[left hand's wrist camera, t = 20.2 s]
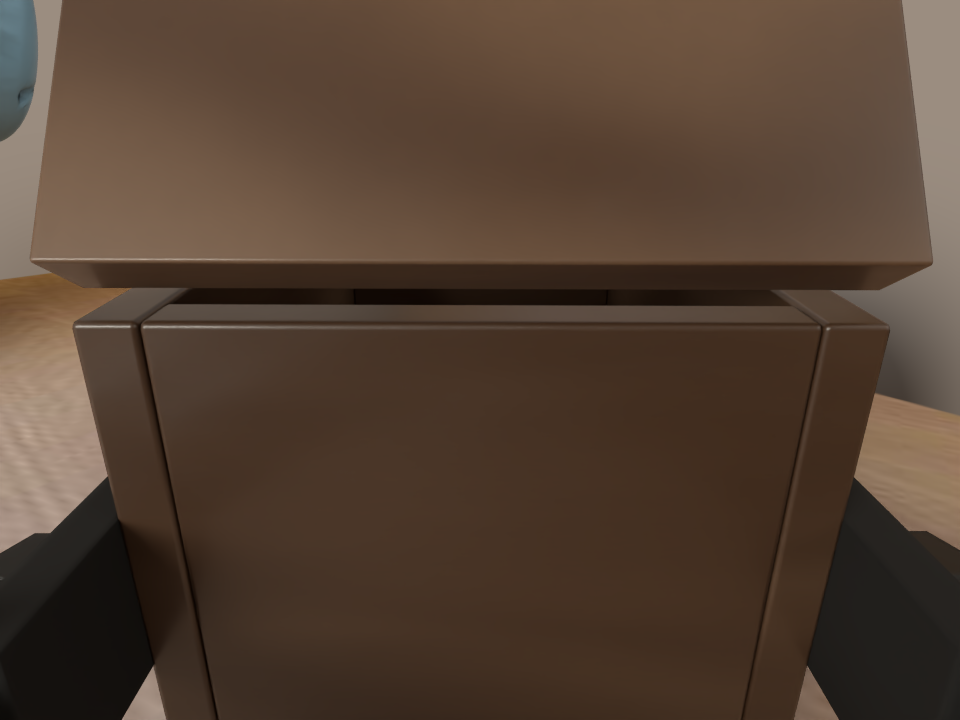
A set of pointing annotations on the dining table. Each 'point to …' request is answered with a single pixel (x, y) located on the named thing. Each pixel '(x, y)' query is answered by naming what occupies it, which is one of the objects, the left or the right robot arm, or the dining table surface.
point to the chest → (480, 495)
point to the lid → (482, 145)
